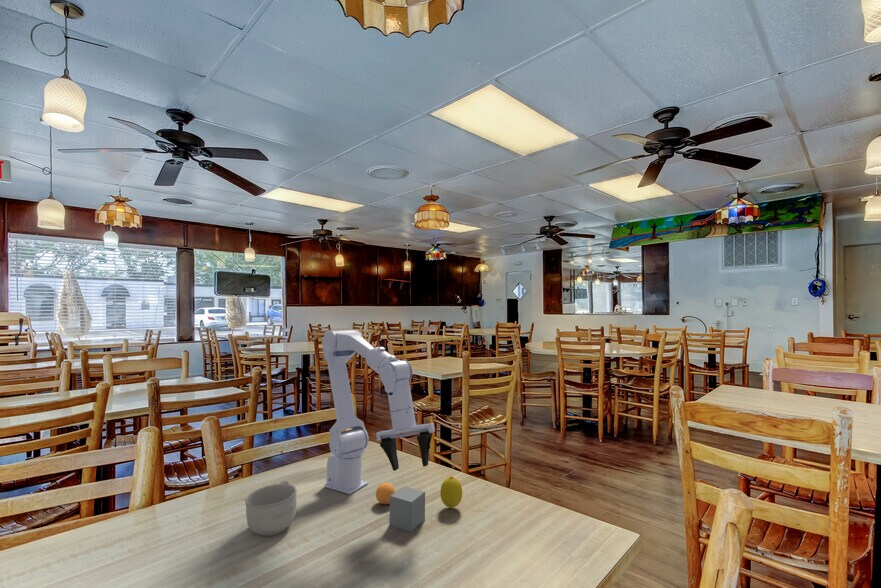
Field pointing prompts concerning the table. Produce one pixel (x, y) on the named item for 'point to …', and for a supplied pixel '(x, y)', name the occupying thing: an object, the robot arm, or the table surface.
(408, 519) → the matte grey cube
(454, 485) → the lemon
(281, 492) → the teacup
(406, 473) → the table surface
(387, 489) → the ball
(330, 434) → the robot arm
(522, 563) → the table surface
